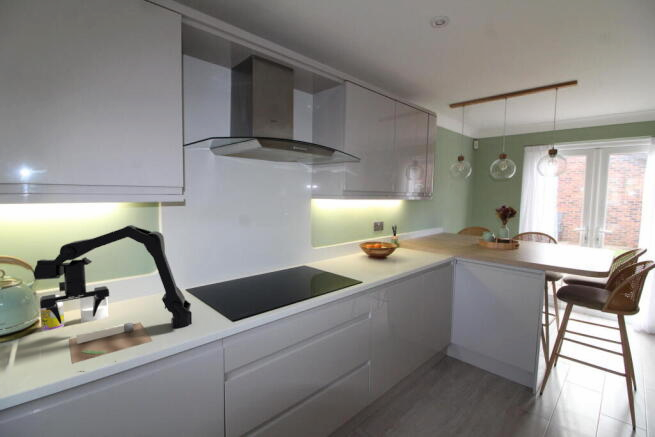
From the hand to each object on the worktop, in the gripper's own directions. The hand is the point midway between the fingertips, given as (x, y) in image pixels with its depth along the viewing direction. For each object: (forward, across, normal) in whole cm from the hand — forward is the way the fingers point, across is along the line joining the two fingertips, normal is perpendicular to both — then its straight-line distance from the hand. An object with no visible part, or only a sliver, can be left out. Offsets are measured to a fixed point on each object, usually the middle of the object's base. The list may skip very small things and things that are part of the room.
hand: (77, 319), depth 109 cm
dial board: (+8, -8, +10) cm, 15 cm away
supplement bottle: (+8, +7, -19) cm, 21 cm away
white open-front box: (+8, -6, -18) cm, 20 cm away
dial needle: (+6, -8, +6) cm, 12 cm away
